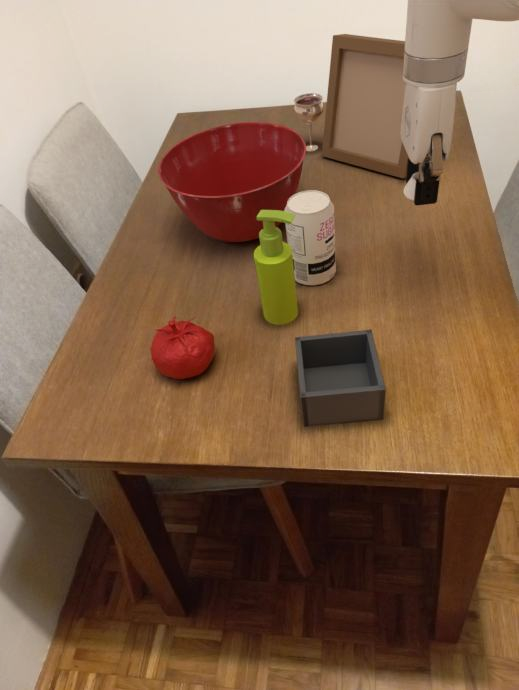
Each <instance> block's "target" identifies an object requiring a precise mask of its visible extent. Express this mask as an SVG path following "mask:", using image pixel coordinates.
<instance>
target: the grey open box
mask: <svg viewBox="0 0 519 690" xmlns="http://www.w3.org/2000/svg"><path fill="white" fill-rule="evenodd" d="M294 342H295V354H296V364H297V376H298V387H299V397H300V406H301V413H302V414H301V415H302V423H303V424H302V425H303V427H304V428H307V427H316V426H329V425H339V424H340V425H341V424H351V423H352V424H353V423H361V422H362V423H363V422H372V421H383V420H384V419H385V405H386V391H387V388H386V385H385V380H384V377H383V372H382V368H381V363H380V360H379V356H378V351H377V346H376V343H375V339H374V334H373V330H372V329H365V330H362V329H361V330H353V331H344V332H335V333H334V332H333V333H324V334H323V333H322V334H315V335H307V336H305V335H304V336H296V337H294Z"/></svg>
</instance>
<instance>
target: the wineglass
mask: <svg viewBox="0 0 519 690" xmlns="http://www.w3.org/2000/svg"><path fill="white" fill-rule="evenodd" d="M323 99H324V98H323V95H322V94H320V93H319V94H318V93H314V92H309V93H308V92H307V93H303V94H300V95H298V96H296V97H295V98H294V99H293V103H294V107H293V112H294V115H295V117H296V119H297V120H299V121H301V123H304V124H306V125H307V128H308V136H309V137H308V138H309V144H308V145H306V152H315V151H316V150H318V149H319V146H318V145H317V144H313V142H312V140H313V139H312V137H313V135H312V134H313V133H312V125H313V123H314V122H316V121H318V120H319V118H321V116H322V115H323V113H324V103H323V102H322V101H323Z"/></svg>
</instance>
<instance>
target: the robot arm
mask: <svg viewBox="0 0 519 690" xmlns="http://www.w3.org/2000/svg"><path fill="white" fill-rule="evenodd" d="M473 20H483V21H494V22H516V21H517V22H518V21H519V0H407V8H406V24H405V35H404V36H405V37H404V41H405V50H404V66H403V80H404V82H406V87H405V94H404V103H403V111H402V121H401V131H400V134H401V139H402V142H403V145H404V147H405V150H406V152H407V154H408V157H409V159H408V163H407V175H406V178H405V183H406V184H407V183H408V181H409V180H410V178H411V177H412V175H413V174H414V173H417V172H419V179H416V185H415V195H414V200H413V203H414V205H415V206H417V207H418V206H427V205H433V204H436V203H437V202H438V197H439V193H438V189H440V182H441V175H442V174H443V173H444V164H443V162H444V161H446V160H448V158H449V157H450V152H451V148H452V141H453V133H454V126H455V125H454V124H455V114H456V102H457V86H458V85H457V83H459V82H461V81H462V80H463V79H464V77H465V73H466V66H467V59H468V54H469V53H468V52H469V47H470V46H469V45H470V39H471V33H472V24H473ZM429 155H430V156H429Z"/></svg>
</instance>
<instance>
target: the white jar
mask: <svg viewBox="0 0 519 690" xmlns="http://www.w3.org/2000/svg"><path fill="white" fill-rule="evenodd" d="M416 179H419V172H417V173H414V174H413V175H412V177H411V178H410V180H409V181H408V183H406V184H405V186H404V187H403V195H404V196H405V198H407V199H408V200H411V201H414V195H415V185H416ZM439 189H440V188H439ZM439 189H438V194H439V192H440V191H439Z"/></svg>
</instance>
